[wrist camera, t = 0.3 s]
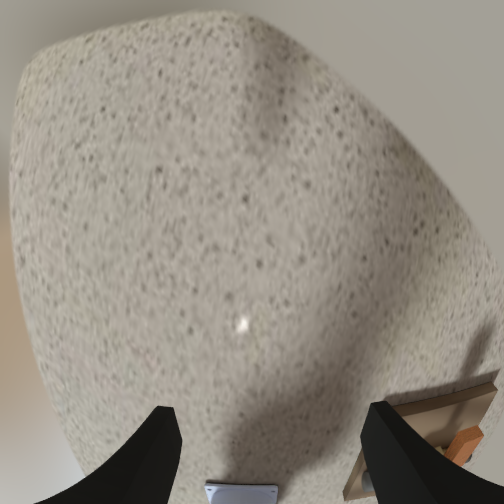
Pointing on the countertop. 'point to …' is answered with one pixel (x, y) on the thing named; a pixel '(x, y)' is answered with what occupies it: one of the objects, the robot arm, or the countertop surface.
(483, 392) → the valve base
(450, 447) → the valve lever
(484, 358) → the countertop surface
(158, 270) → the countertop surface
